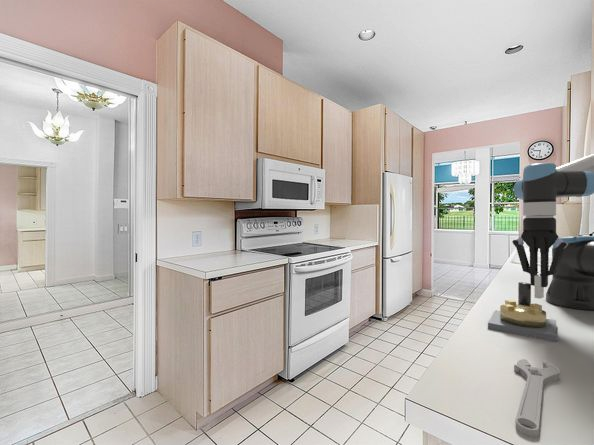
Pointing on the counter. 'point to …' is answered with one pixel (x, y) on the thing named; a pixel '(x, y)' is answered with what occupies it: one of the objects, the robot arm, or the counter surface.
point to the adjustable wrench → (533, 395)
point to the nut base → (524, 328)
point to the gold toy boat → (523, 309)
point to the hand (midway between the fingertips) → (539, 297)
